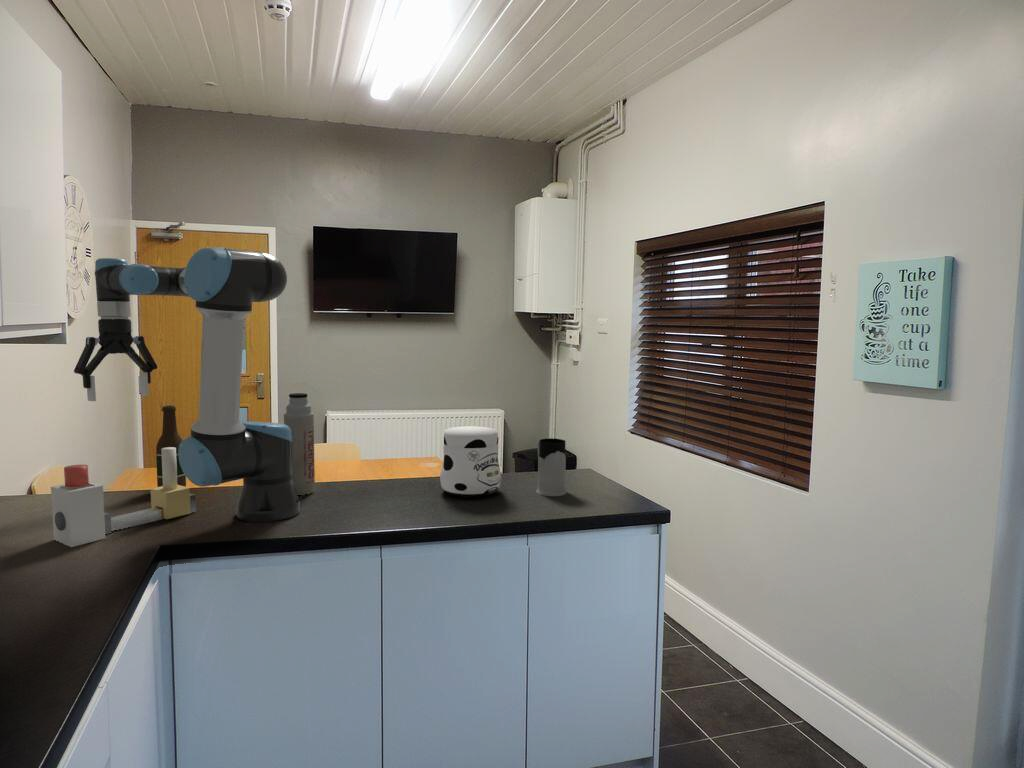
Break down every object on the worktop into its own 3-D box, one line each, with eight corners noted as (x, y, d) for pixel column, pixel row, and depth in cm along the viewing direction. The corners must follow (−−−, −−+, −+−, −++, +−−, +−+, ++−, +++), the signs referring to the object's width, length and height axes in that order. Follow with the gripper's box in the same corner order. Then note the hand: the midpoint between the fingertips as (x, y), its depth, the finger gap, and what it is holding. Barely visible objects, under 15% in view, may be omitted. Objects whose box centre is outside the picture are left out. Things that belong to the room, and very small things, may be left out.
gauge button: (92, 484, 150) (91, 466, 149) (70, 488, 146) (69, 470, 146) (82, 481, 152) (81, 463, 152) (61, 485, 149) (60, 467, 148)
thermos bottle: (320, 491, 193) (319, 393, 190) (298, 497, 186) (296, 396, 184) (301, 487, 197) (300, 391, 194) (279, 493, 191) (277, 393, 188)
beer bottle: (163, 487, 195) (160, 404, 193) (191, 486, 196) (188, 404, 193) (151, 494, 187) (148, 407, 185) (180, 494, 188) (177, 408, 186)
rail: (196, 512, 172) (195, 494, 171) (104, 535, 153) (103, 515, 153) (184, 508, 174) (184, 491, 174) (93, 530, 156) (92, 511, 156)
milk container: (499, 501, 185) (500, 436, 183) (436, 500, 185) (436, 435, 184) (501, 485, 202) (502, 426, 201) (443, 484, 203) (443, 425, 201)
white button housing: (105, 538, 151) (103, 485, 150) (69, 547, 145) (66, 492, 144) (87, 531, 156) (85, 480, 154) (51, 540, 149) (48, 486, 148)
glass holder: (543, 497, 190) (544, 444, 189) (524, 485, 203) (525, 435, 202) (571, 494, 193) (573, 442, 192) (551, 482, 207) (552, 434, 205)
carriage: (190, 513, 169) (188, 448, 168) (167, 519, 164) (164, 452, 163) (174, 508, 173) (172, 444, 172) (151, 514, 168) (148, 448, 167)
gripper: (153, 318, 191) (157, 393, 193) (55, 318, 171) (60, 402, 173) (168, 318, 187) (172, 394, 189) (69, 318, 167) (75, 404, 169)
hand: (119, 398), depth 181 cm, fingers open, 13 cm apart
